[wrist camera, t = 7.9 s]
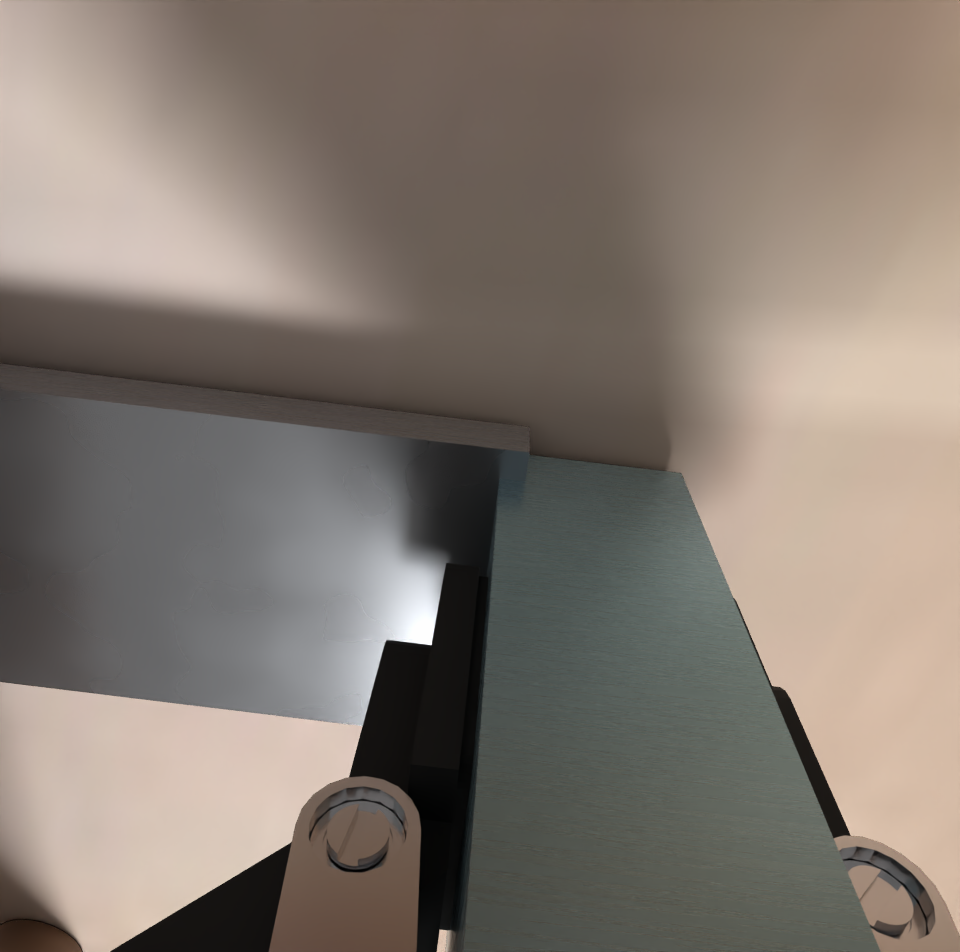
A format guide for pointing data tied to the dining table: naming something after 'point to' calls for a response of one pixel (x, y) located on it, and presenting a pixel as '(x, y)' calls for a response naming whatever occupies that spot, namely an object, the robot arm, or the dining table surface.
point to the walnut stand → (34, 938)
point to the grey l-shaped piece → (411, 618)
